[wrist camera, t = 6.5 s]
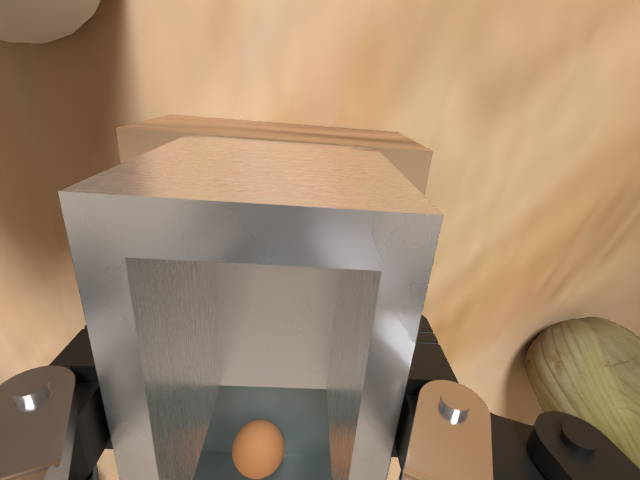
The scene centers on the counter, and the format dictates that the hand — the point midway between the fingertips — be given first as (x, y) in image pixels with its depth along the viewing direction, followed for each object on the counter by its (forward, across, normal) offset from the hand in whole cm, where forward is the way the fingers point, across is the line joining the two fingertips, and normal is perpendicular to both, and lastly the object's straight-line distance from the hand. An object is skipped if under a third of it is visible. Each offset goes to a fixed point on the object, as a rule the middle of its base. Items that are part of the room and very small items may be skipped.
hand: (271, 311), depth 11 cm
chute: (+2, 0, 0) cm, 2 cm away
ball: (+4, 0, +14) cm, 14 cm away
